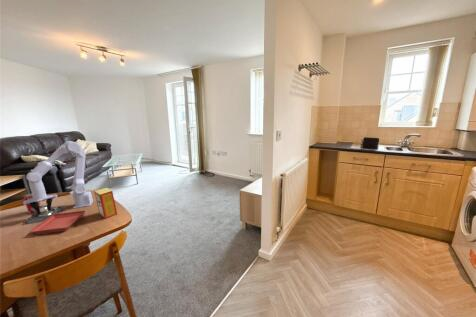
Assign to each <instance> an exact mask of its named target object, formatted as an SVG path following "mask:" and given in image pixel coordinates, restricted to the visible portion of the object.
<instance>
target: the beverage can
mask: <svg viewBox="0 0 476 317" xmlns="http://www.w3.org/2000/svg"><path fill="white" fill-rule="evenodd" d="M29 199H33V195H32V193H28V194H25V195H24V197H23V201H25V200H29ZM39 206H42V205H41V201H39V202H38V207H39ZM25 207H26V209H27V213H29V214H34V213H36V212H37V211H36V210H35V209H34V208H32V207H31V206H30V203H29V204H26V205H25Z"/></svg>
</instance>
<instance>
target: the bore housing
mask: <svg viewBox="0 0 476 317" xmlns="http://www.w3.org/2000/svg"><path fill="white" fill-rule="evenodd" d="M51 211H53V212H52V213H51V214H50V215H44V216H39V217H38V215H39V214H40V213H39V214H38V213H37V212H36V213H32V215H31V216H30V217H28V218H27V219H26V224H27V225H28V224H34V223H38V222H39V223H41V222H43V221H44V220H46V219H47V218H49V217H50V216H52V215H53V214H59V213H62V211H64V210H63V207H62V206H60V205H59V206H57V207H51Z"/></svg>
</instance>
